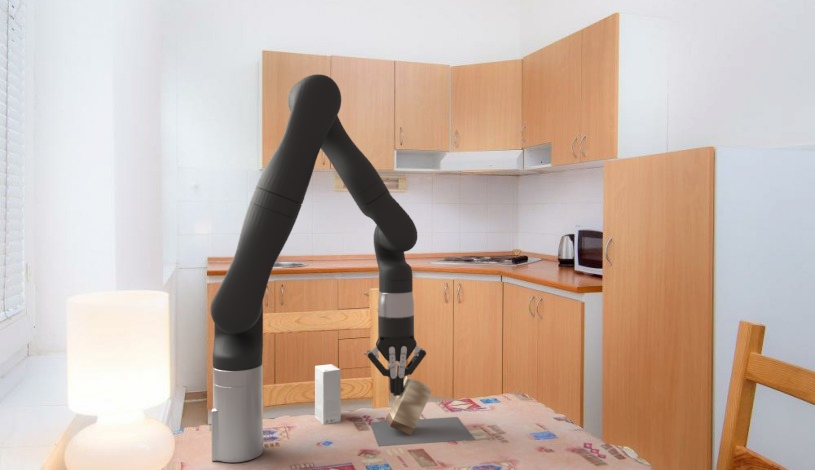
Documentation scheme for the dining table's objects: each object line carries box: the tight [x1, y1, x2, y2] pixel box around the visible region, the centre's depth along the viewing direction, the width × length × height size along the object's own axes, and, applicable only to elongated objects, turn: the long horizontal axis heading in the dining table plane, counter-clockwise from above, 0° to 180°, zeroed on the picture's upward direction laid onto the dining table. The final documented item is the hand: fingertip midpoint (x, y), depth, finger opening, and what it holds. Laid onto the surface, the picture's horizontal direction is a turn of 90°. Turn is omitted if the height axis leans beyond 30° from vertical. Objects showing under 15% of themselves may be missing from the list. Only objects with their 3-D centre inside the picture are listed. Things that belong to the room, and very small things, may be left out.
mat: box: [369, 416, 476, 447], centre depth 129 cm, size 20×14×1 cm
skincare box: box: [314, 363, 342, 425], centre depth 137 cm, size 6×4×12 cm
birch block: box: [385, 375, 433, 435], centre depth 129 cm, size 5×5×10 cm
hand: (396, 394), depth 128 cm, fingers closed
